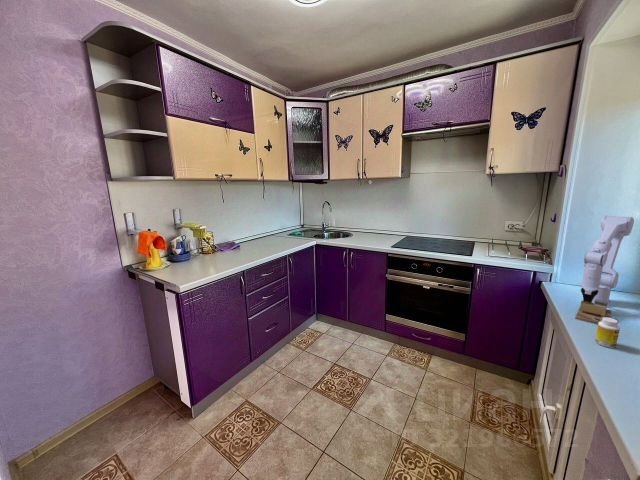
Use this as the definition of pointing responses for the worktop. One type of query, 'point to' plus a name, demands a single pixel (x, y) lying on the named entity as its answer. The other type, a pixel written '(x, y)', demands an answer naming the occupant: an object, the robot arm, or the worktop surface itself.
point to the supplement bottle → (607, 332)
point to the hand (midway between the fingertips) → (587, 304)
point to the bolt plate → (591, 316)
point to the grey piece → (603, 303)
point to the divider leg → (593, 308)
